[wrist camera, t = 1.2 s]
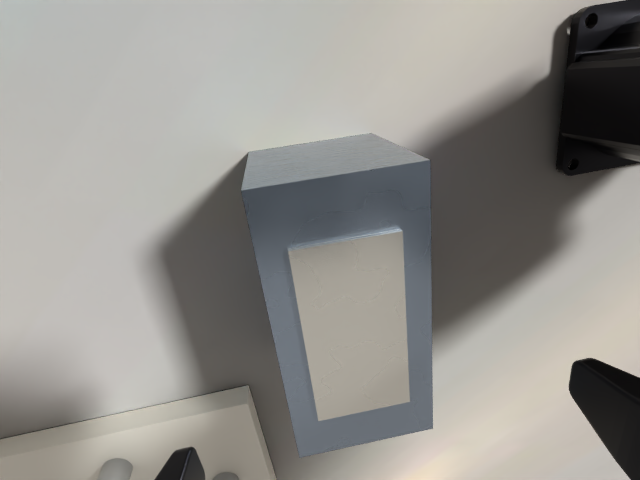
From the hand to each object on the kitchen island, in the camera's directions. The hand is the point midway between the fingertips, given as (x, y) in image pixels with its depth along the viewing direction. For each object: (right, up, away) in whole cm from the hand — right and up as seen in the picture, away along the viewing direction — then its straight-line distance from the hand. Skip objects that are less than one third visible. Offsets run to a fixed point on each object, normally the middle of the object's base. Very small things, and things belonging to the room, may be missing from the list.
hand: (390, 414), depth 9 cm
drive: (-1, +3, +8) cm, 9 cm away
